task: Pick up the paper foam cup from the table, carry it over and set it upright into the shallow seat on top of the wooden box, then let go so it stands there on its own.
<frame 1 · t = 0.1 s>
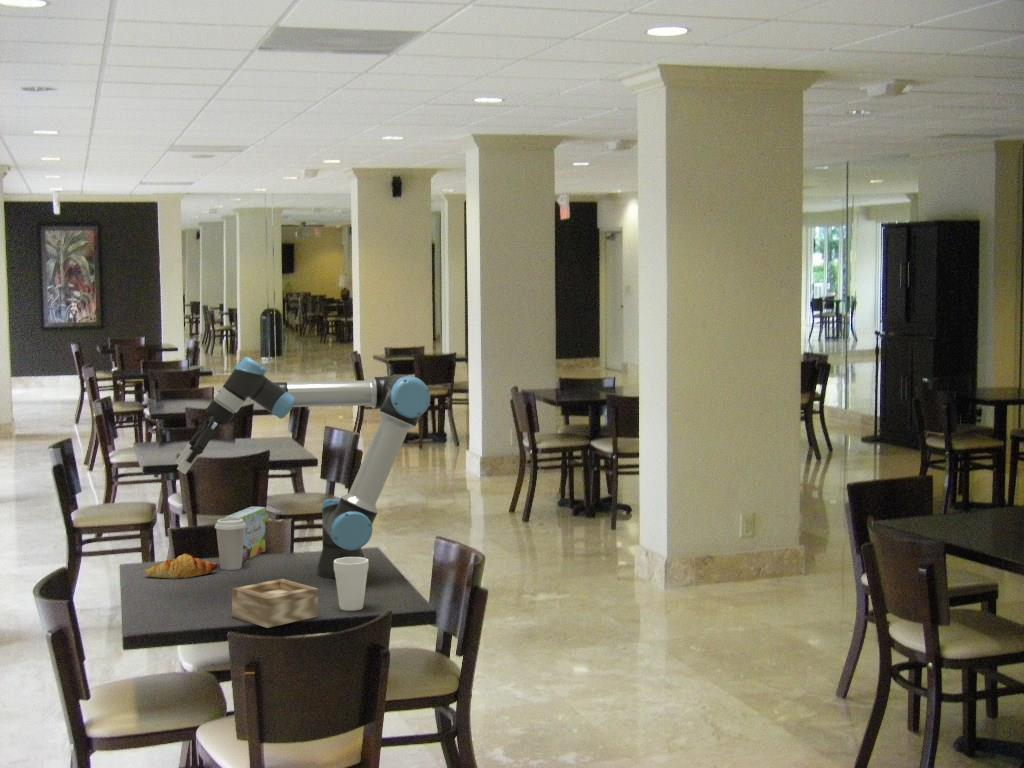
hand: (179, 468, 347), 36 cm above the table, tool tilted 35°, fingers open, 13 cm apart
foam cup: (351, 608, 335), on the table
wooden box: (275, 616, 326), on the table
croissant: (181, 576, 373), on the table
snack box: (245, 557, 399), on the table
coffee cup: (231, 568, 384), on the table
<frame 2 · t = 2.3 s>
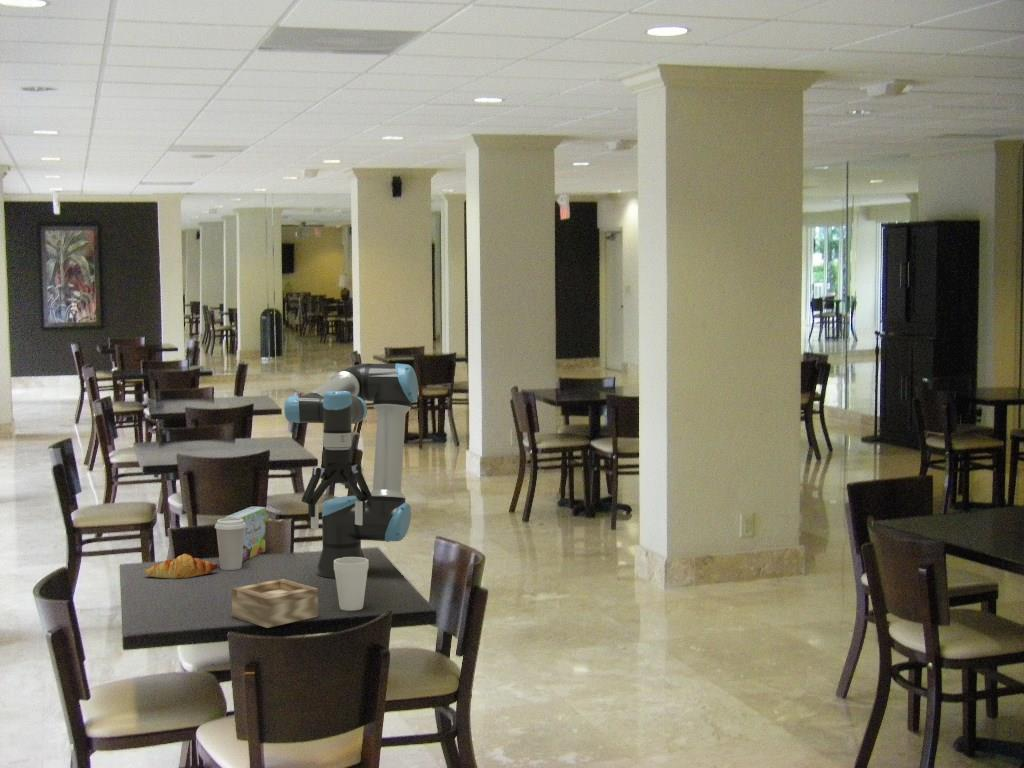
hand: (336, 526, 333), 22 cm above the table, tool pointing down, fingers open, 13 cm apart
nothing on the table moved.
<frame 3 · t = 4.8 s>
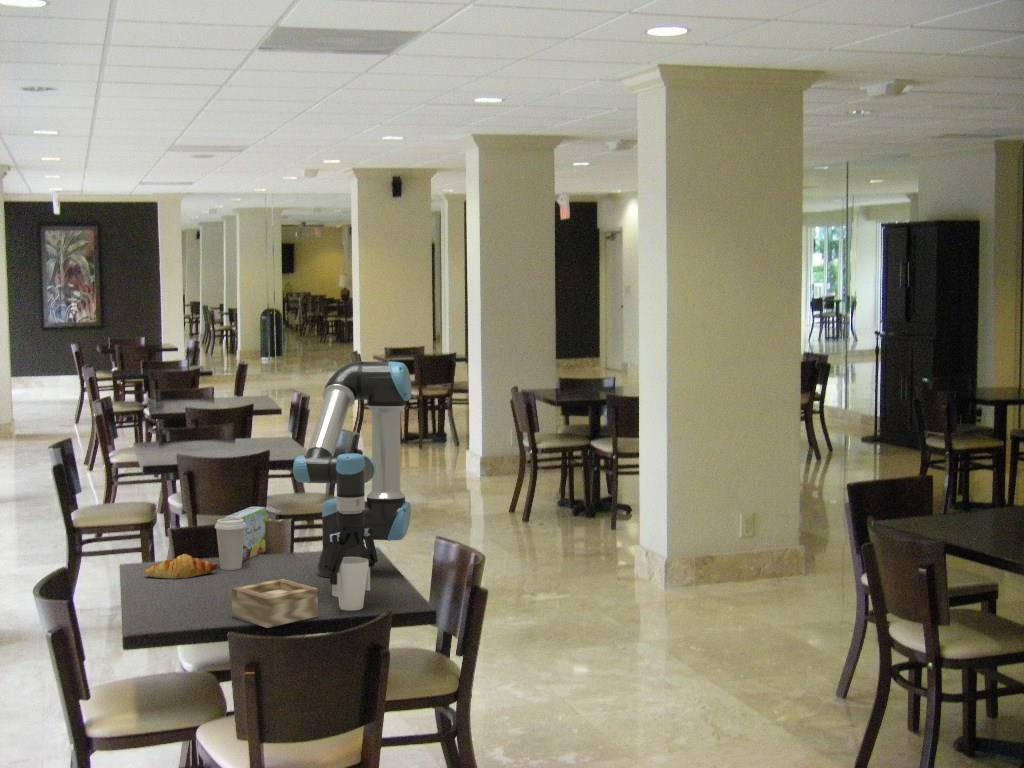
hand: (351, 592, 335), 4 cm above the table, tool pointing down, fingers closed on foam cup, 9 cm apart
foam cup: (351, 608, 335), on the table, touching gripper
everything else where it was.
when the fingers open (10 cm above the table, at t = 11.1 s): foam cup stays where it is, resting on wooden box.
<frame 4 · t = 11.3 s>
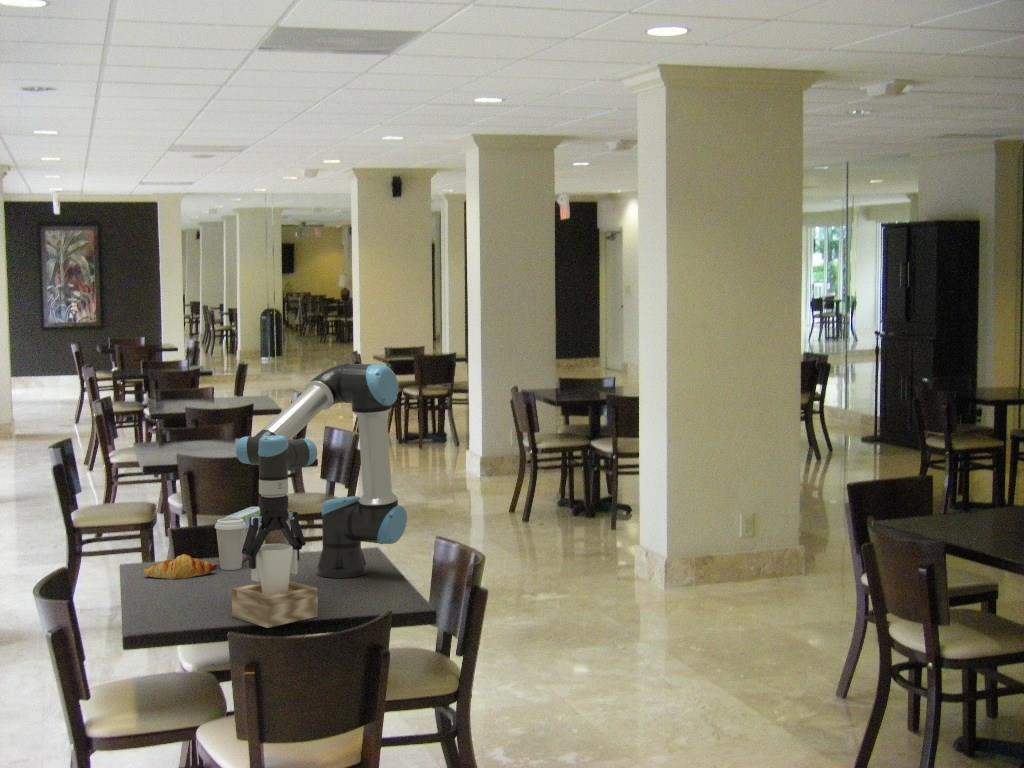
hand: (274, 577, 325), 11 cm above the table, tool pointing down, fingers open, 11 cm apart
foam cup: (275, 596, 326), point 5 cm above the table, touching wooden box
everything else where it was.
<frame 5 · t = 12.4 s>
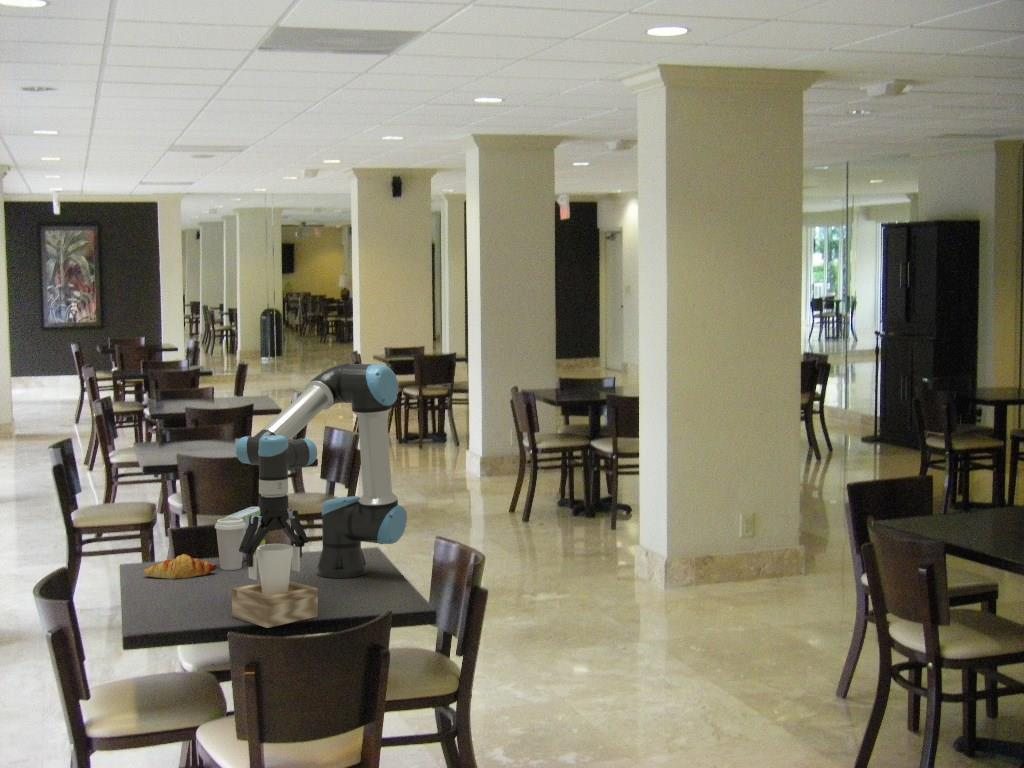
hand: (274, 574, 325), 11 cm above the table, tool pointing down, fingers open, 13 cm apart
nothing on the table moved.
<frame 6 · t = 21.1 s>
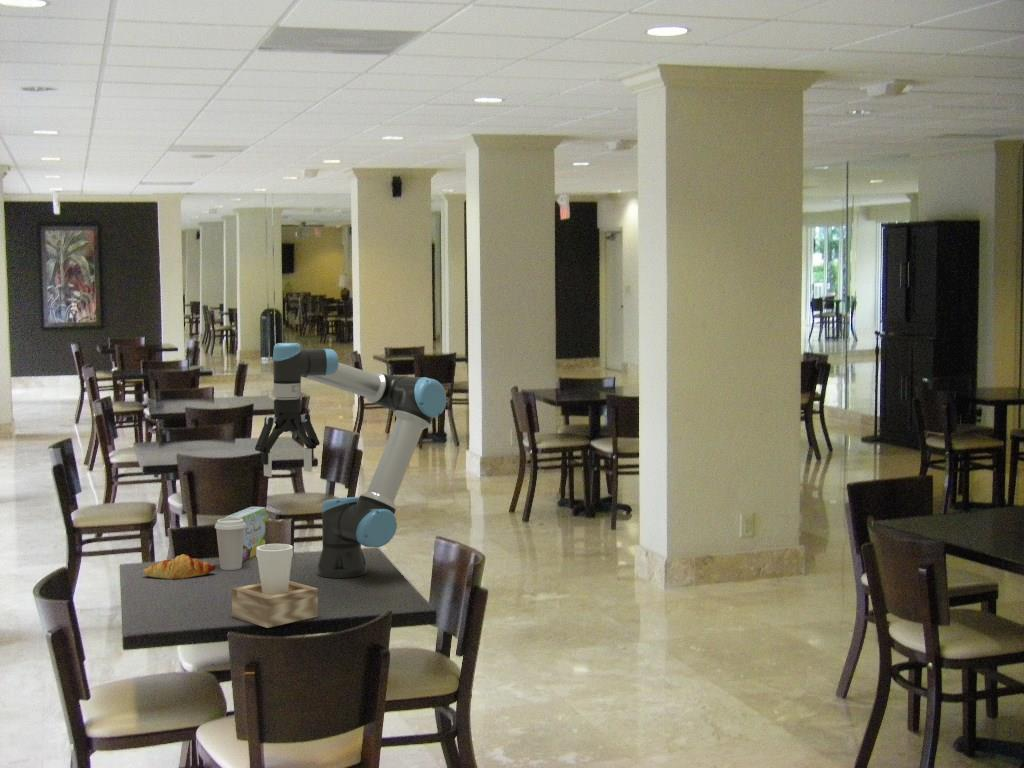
hand: (288, 473, 346), 35 cm above the table, tool pointing down, fingers open, 13 cm apart
nothing on the table moved.
at the end: foam cup inside the target area on the wooden box (0.1 cm from its centre), point 5.3 cm above the wooden box's base; foam cup tilted 0°; the gripper is holding nothing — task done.
